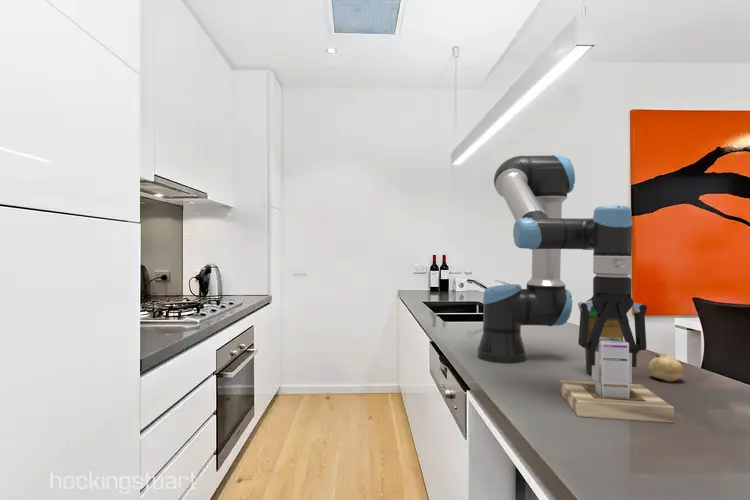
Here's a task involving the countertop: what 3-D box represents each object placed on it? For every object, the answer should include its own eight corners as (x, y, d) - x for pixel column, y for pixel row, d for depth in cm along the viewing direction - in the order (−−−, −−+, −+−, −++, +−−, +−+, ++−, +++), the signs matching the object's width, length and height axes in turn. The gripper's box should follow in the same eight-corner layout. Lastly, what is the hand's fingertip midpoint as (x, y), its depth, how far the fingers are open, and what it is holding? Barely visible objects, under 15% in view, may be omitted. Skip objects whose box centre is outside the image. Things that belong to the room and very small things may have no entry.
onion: (680, 378, 123) (680, 352, 123) (686, 385, 116) (686, 358, 116) (646, 374, 126) (646, 349, 126) (650, 381, 119) (650, 354, 119)
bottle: (584, 377, 122) (585, 274, 122) (580, 368, 132) (580, 273, 132) (629, 381, 119) (629, 275, 119) (621, 371, 129) (621, 273, 129)
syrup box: (630, 410, 96) (631, 342, 96) (600, 408, 97) (601, 341, 97) (621, 401, 101) (622, 337, 101) (593, 399, 102) (593, 336, 102)
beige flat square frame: (559, 392, 108) (559, 379, 108) (640, 397, 105) (640, 383, 105) (578, 416, 93) (578, 400, 93) (673, 422, 90) (673, 406, 90)
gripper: (571, 275, 97) (570, 383, 97) (666, 277, 94) (666, 388, 94) (562, 274, 105) (562, 373, 104) (651, 275, 101) (650, 378, 101)
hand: (611, 380), depth 99 cm, fingers closed on syrup box, 6 cm apart
